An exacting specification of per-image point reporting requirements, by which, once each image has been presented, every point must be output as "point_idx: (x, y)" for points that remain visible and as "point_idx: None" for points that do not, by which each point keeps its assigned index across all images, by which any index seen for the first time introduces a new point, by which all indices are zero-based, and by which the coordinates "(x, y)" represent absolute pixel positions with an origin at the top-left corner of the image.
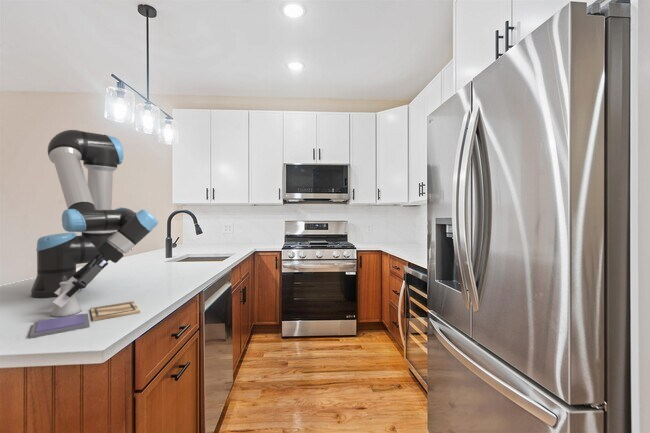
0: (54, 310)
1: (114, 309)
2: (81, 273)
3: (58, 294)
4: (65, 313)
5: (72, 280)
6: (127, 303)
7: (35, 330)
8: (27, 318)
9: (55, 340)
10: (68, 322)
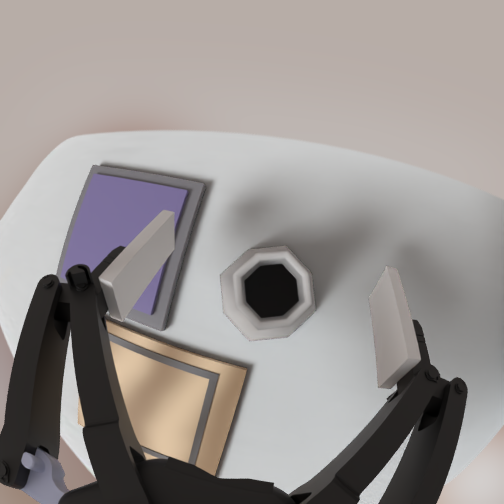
0: (267, 250)
1: (147, 405)
2: (382, 415)
3: (379, 283)
4: (221, 277)
5: (395, 352)
6: (191, 460)
7: (113, 176)
8: (315, 189)
9: (45, 206)
10: (92, 247)
